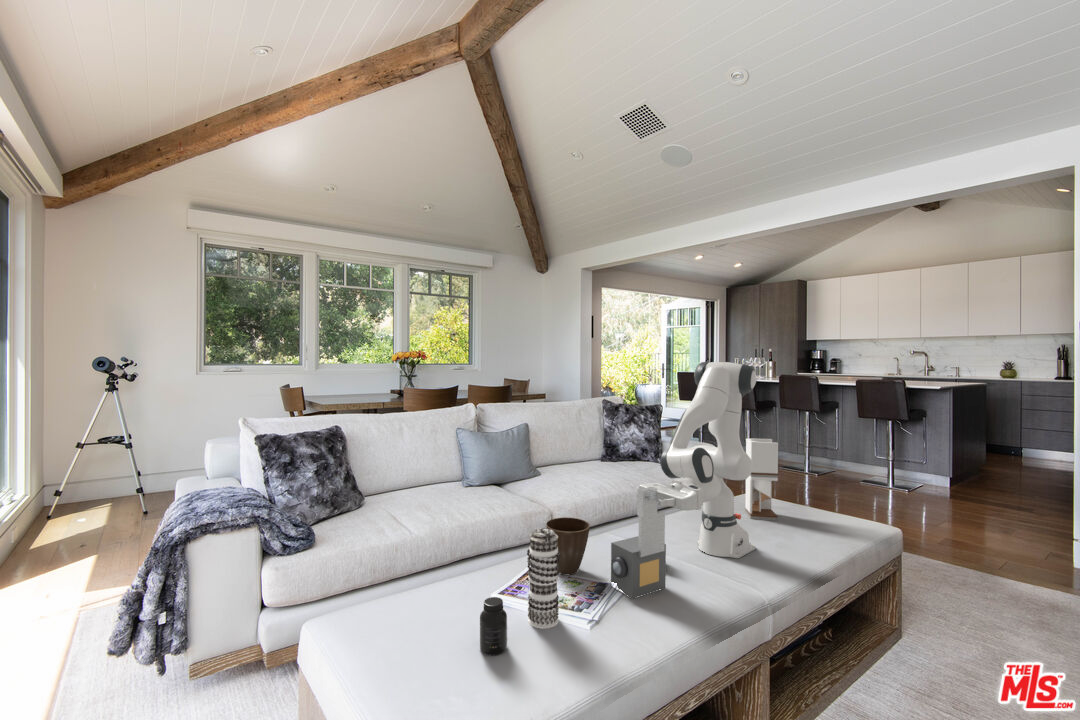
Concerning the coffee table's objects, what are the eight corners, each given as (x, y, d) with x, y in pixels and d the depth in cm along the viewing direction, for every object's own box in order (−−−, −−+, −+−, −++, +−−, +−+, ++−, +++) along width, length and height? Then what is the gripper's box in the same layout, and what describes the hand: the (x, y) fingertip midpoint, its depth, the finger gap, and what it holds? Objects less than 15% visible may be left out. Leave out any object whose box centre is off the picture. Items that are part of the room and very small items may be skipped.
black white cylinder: (549, 633, 137) (549, 539, 137) (520, 623, 142) (520, 532, 142) (565, 618, 145) (566, 529, 145) (537, 609, 150) (538, 523, 150)
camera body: (643, 576, 173) (643, 534, 173) (665, 588, 164) (666, 544, 164) (605, 587, 165) (606, 543, 164) (627, 600, 156) (627, 554, 156)
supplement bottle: (480, 641, 133) (480, 595, 133) (506, 640, 134) (507, 594, 134) (479, 657, 126) (479, 608, 126) (507, 655, 127) (507, 607, 127)
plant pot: (595, 566, 181) (595, 521, 181) (580, 583, 168) (580, 534, 167) (556, 559, 187) (556, 515, 187) (538, 575, 174) (538, 527, 174)
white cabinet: (750, 518, 236) (751, 442, 235) (745, 511, 246) (746, 438, 246) (777, 520, 234) (778, 442, 234) (770, 513, 244) (771, 439, 244)
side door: (660, 549, 164) (661, 485, 163) (666, 551, 162) (666, 486, 161) (636, 555, 158) (637, 489, 158) (642, 558, 156) (642, 490, 156)
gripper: (657, 476, 175) (626, 481, 168) (705, 490, 158) (673, 496, 151) (657, 495, 175) (626, 501, 168) (705, 510, 158) (673, 518, 151)
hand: (648, 499), depth 159 cm, fingers open, 8 cm apart
